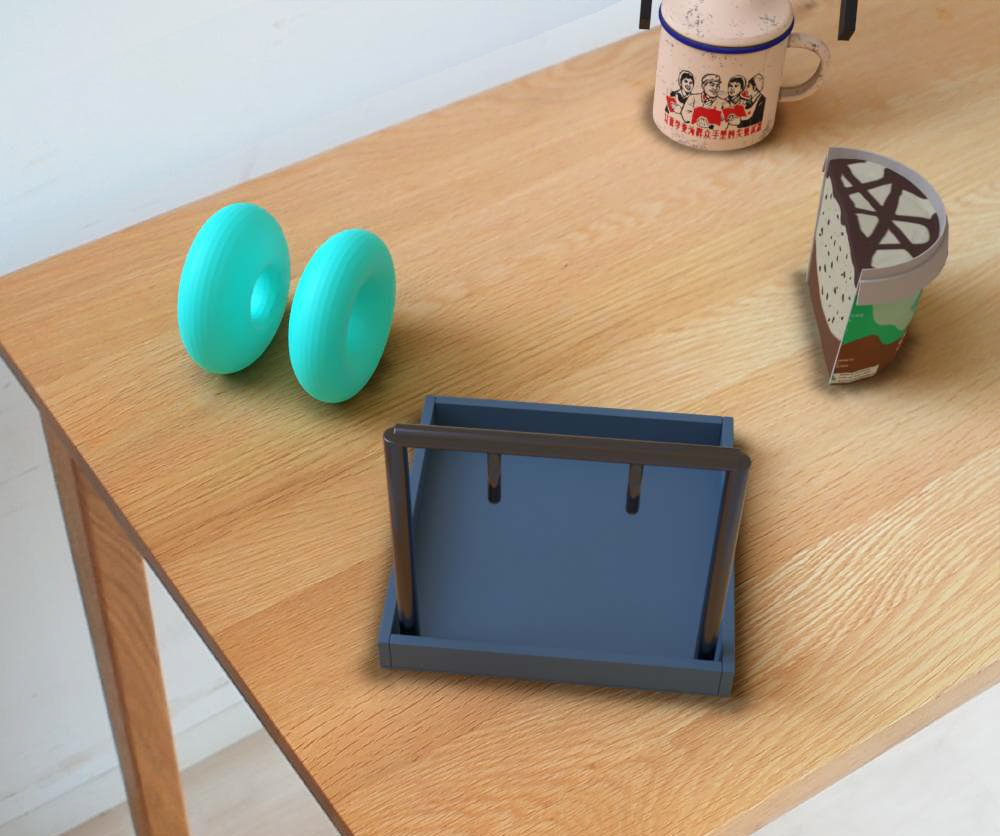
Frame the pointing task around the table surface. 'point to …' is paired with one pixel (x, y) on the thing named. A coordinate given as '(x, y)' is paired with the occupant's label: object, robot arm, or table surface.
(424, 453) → the drip tray
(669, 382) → the table surface
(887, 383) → the table surface
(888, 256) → the food container
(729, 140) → the teacup with lid
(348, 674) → the table surface
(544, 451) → the rack frame
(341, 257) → the donuts
